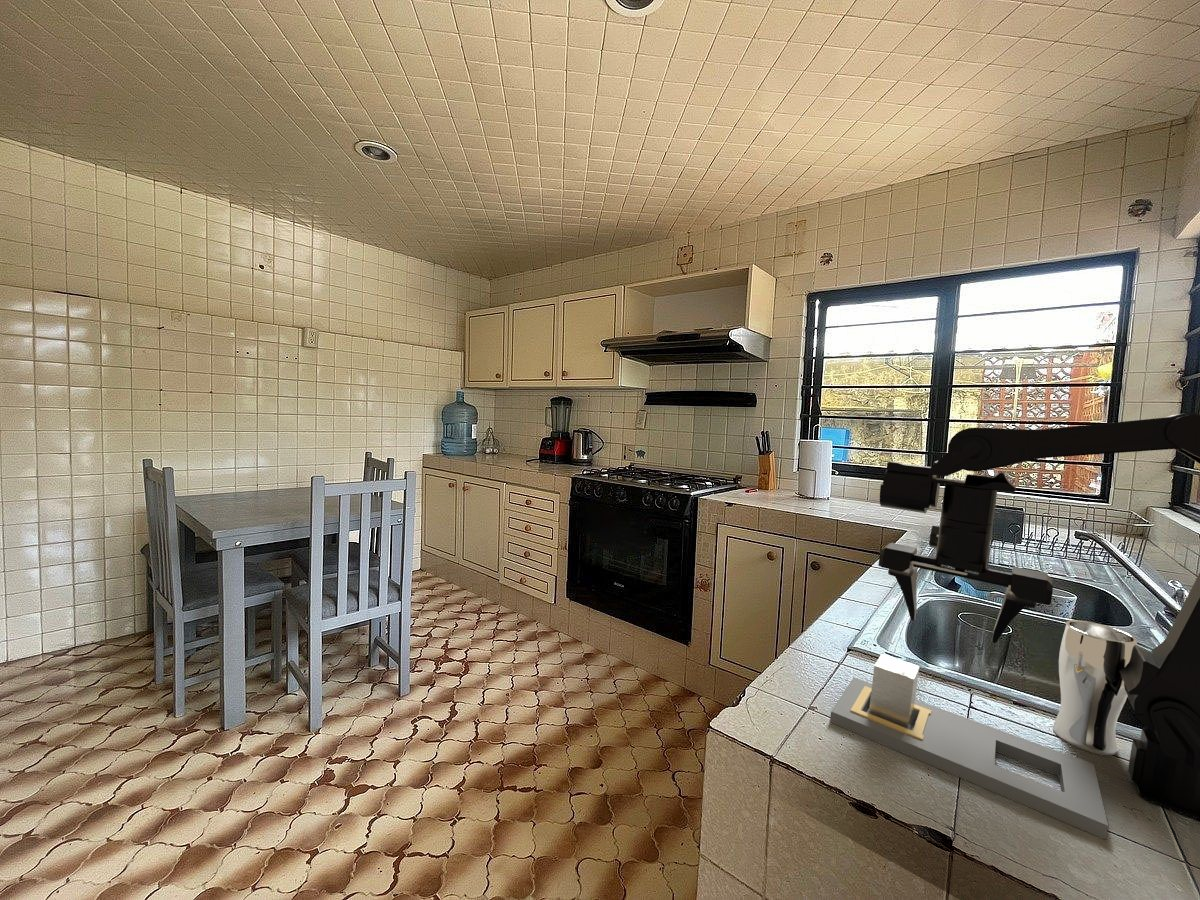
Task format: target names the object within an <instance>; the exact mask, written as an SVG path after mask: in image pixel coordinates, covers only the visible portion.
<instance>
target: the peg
mask: <svg viewBox="0 0 1200 900" xmlns="http://www.w3.org/2000/svg"><path fill="white" fill-rule="evenodd" d="M873 667H874V668H873V676H872V683H871V684H872V690H871V699H870V705H869V706H868V713H869V714H872V715H874V716H877V717H879V718H882V719H884V720H887V721H889V722H892V723H894V724H897V725H899V726H902V727H904V728H907V729H909V730H911V727H912V724H913V721H914V720H913V713H914V705H915V700H916V696H917V688H918V681H919V673H920V666H919V665H916V664H913V663H910V662H907V661H904V660H901V659H897V658H894V657H892V656H889V655H885V654H881V655H879V657H878V659H877V660H876V662H875V663H874V666H873Z"/></svg>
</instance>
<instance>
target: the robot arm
mask: <svg viewBox="0 0 1200 900" xmlns="http://www.w3.org/2000/svg"><path fill="white" fill-rule="evenodd" d="M1165 450H1167V451H1168V450H1174V451H1177V452H1179V453H1181V454H1182V455H1184V456H1186V457H1188V458H1189V459H1191V460H1192V461H1194V462H1196V463H1198V464H1199V465H1200V414H1199V413H1195V412H1193V413H1192V412H1190V413H1189V412H1184V413H1177V414H1176V413H1175V414H1172V415H1168V416H1164V417H1158V418H1147V419H1146V418H1145V419H1136V420H1126V421H1116V422H1115V421H1114V422H1107V423H1094V424H1085V425H1076V426H1075V425H1074V426H1063V427H1053V428H1043V429H1042V428H1041V429H1027V428H1026V429H1024V428H1022V429H1021V428H1001V427H999V428H998V427H968V428H965V429H962V430H959V431H958V432H956V433H955V434H954V435H953V436H952V437H951V439H950V440H949V441H948V445H947V453H945V455H943V456H942V457H941V458H940V459H939V460H935V461H933V464H932V466H924V465H915V464H907V463H903V462H900V461H891V460H890V461H888V462H887V463H886V464H887V465H886V470H885V473H884V475H883V480H882V483H881V484H880V488H879V505H880V507H882V508H890V509H895V510H903V511H909V512H912V513H913V512H915V513H922V514H926V513H927V512H928V510H929V509H930V507H931V508H935V509H936V508H937V507H938V506H937V505H938V503H939V502H938V501H939V497H940V489H941V485H944V490H943V491H944V492H943V497H942V498H943V499H942V506H941V514H940V520H939V521H940V522H939V525H931V529H930V535H929V540H928V541H929V542H928V545H929V547H930V548H931V549H936V551H935V552H936V553H935V557H933V556H929V555H928V556H927V555H923V554H918V548H917V547H915V546H912V545H905V544H902V543H901V544H899V543H894V542H890V543H888V544H886V545H885V546H884V547H883V548H882V549H881V550H880V551H879V552H880V553H879V556H878V566H879V567H880V568H882V569H888V571H887V574H888V575H889V576H893V577H894V578H895V579H896V581H897V584H898V586H899V587H900V591H902V596H903V597H904V601H905V604H906V607H907V611H908V615H909V617H910V620H911V621H912V622H914V621H915V620H916V616H917V609H918V608H917V606H918V604H917V603H918V600H917V580H918V579H917V577H918V569H923V570H927V571H931V572H935V573H942V574H945V575H948V576H949V575H950V576H954V577H958V578H959V577H960V578H963V579H968V580H972V581H977V582H982V583H987V584H991V585H996V586H1001V587H1004V588H1005V587H1006V589H1005V592H1004V596H1003V599H1002V603H1001V604H1000V605H1001V606H1000V608H999V612H998V615H997V618H996V620H995V621H996V622H995V624H994V628H993V631H992V632H993V634H992V639H991V642H992V644H997V642H998V641H999V640H1000V638H1001V637H1002V635H1003V633H1004V632H1005V631H1006V629H1007V627H1008V626H1009V625H1010V623H1011V622H1012V621H1013V620H1014V618H1016V617H1017V616H1018V614H1020V613H1021V612H1022V610H1023V609H1025V608H1030V609H1036V607H1037V603H1038V604H1042V605H1052V599H1053V598H1052V597H1053V591H1054V585H1053V580H1052V578H1051V577H1050V576H1049V575H1048V573H1047V572H1043V571H1038V570H1033V569H1027V568H1022V567H1019V566H1012V568H1011V572H1006V571H1001V570H997V569H992V568H988V566H989V562H990V554H991V541H992V535H993V525H994V518H995V512H996V505H997V504H996V503H997V494H998V492H1005V493H1011V494H1012V493H1015V492H1016V491H1017V488H1016V485H1015V484H1013V482H1012V481H1010V480H1009V479H1008V478H1007V476H1006V473H1004V472H1003V471H1001V472H999V473H997V474H996V475H995V476H987V475H978V474H970V473H967V474H966V476H965V480H962V479H951V478H950V479H949V478H943V477H949V476H950V475H953V474H956V473H958V472H960V471H967V472H975V473H976V472H984V471H988V470H992V469H997V468H1002V467H1008V466H1012V465H1017V464H1021V463H1026V462H1029V461H1035V460H1039V459H1047V458H1049V459H1051V458H1061V457H1065V458H1066V457H1076V456H1077V457H1078V456H1089V455H1090V456H1091V455H1094V456H1095V455H1106V454H1108V455H1109V454H1121V453H1138V452H1148V451H1149V452H1150V451H1151V452H1152V451H1165ZM937 476H939V477H941V478H939V477H937ZM1119 672H1120V674H1121V676H1122V679H1123V681H1124V687H1125V691H1126V693H1127V695H1128V697H1127V698H1128V700H1129V703H1130V704H1131V707H1132V710H1133V712H1134V714H1135V716H1136V717H1137V718H1138V720H1139V722H1140V723H1141V724H1143V725H1144V727H1142V728H1141V733H1140V739H1137V738H1134V739H1132V741H1131V742H1132V744H1131V749H1130V755H1129V762H1128V767H1127V771H1128V773H1129V777H1130V780H1131V782H1132V783H1134V784H1135V787H1136V790H1137V793H1138V796H1139V797H1140V798H1142V799H1144V800H1145V801H1149V802H1151V803H1153V804H1156V805H1159V806H1161V807H1164V808H1167V809H1169V810H1172V811H1174V812H1177V813H1180V814H1183V815H1185V816H1187V817H1191V818H1193V819H1196V820H1199V821H1200V572H1199V573H1198V575H1197V577H1196V580H1195V581H1194V582H1193V584H1192V587H1191V589H1190V591H1189V593H1188V594H1187V597H1186V599H1185V601H1184V602H1183V604H1182V606H1181V608H1180V610H1179V612H1178V614H1177V616H1176V618H1175V619H1174V622H1173V623H1172V626H1171V628H1170V630H1169V631H1168V633H1167V635H1166V637H1165V638H1164V640H1163V641H1162V642H1161V643H1160V644H1159V645H1157V646H1156V647H1154V648H1153V649H1151V650H1150V651H1149V650H1147V649H1145V648H1143V647H1141V646H1139V645H1138V644H1137V645H1134V646H1133V649H1132V653H1131V658H1130V661H1129V663H1128V664H1127V665H1126V667H1124V668H1123V669H1121V670H1120V671H1119Z"/></svg>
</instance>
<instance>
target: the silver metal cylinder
mask: <svg viewBox="0 0 1200 900" xmlns="http://www.w3.org/2000/svg"><path fill="white" fill-rule="evenodd" d="M1134 645H1137V646H1138V639H1137V638H1136V636H1134V635H1131V634H1130V633H1128V632H1126V631H1124V630H1121V629H1117V628H1115V627H1112V626H1109V625H1106V624H1102V623H1097V622H1094V621H1087V620H1081V619H1070V620H1067V621H1066V623H1065V627H1064V632H1063V635H1062V639H1061V643H1060V648H1059V654H1058V655H1059V656H1058V675H1059V688H1060V706H1059V710H1058V713H1057V716H1056V719H1055V720H1054V723H1053V725H1052V730H1053V731H1054V733H1055V734H1056V735H1057V736H1058V737H1059V739H1062V740H1063V741H1064V742H1066V743H1068V744H1070V745H1072V746H1074V747H1075V748H1078V749H1079V750H1083V751H1086V752H1088V753H1091V754H1095V755H1101V756H1114V755H1116V754H1117V751H1118V747H1117V746H1118V745H1117V739H1116V737H1117V736H1116V727H1117V722H1118V720H1119V719H1118V718H1119V716H1120V714H1121V711H1122V710H1123V707H1124V706H1125V703H1126V701H1127V698H1128V695H1127V693H1126V691H1125V687H1124V681H1123V679H1122V676H1121V674H1120V672H1119V671H1120V670H1121V669H1123V668H1124V667H1126V665H1127V664H1128V663H1129V661H1130V658H1131V653H1132V649H1133V646H1134Z"/></svg>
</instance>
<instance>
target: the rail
mask: <svg viewBox="0 0 1200 900" xmlns="http://www.w3.org/2000/svg"><path fill="white" fill-rule="evenodd" d="M871 690H872V683H871V682H868V681H865V680H863V679H861V678H857V677H855V676H854V677H852V679H851V680H850V681H849V683H848V685H847V687H845V689H844V691H843V693H842V694H841V696H840V697H839V699H838V700H837V702H836V703H835V704H834V706H833V708H832V709H831V711H830V717H829V718H830V719H829V723H831V724H833V725H837V726H838V727H841V728H843V729H845V730H848V731H851V732H852V733H855V734H857V735H860V736H862V737H865V738H866V739H869V740H871V741H873V742H876V743H879V744H880V745H884V746H885V747H887V748H890V749H892V750H895V751H897V752H899V753H902V754H904V755H907V756H909V757H910V758H913V759H916V760H918V761H920V762H922V763H925V764H928V765H930V766H931V767H935V768H937V769H940V770H942V771H943V772H946V773H949V774H952V775H954V776H955V777H957V778H960V779H962V780H965V781H967V782H970V783H972V784H974V785H977V786H979V787H982V788H984V789H986V790H988V791H991V792H993V793H995V794H998V795H1000V796H1003V797H1005V798H1007V799H1010V800H1012V801H1015V802H1017V803H1019V804H1021V805H1024V806H1026V807H1028V808H1031V809H1034V810H1036V811H1038V812H1041V814H1044V815H1047V816H1049V817H1052V818H1054V819H1056V820H1059V821H1061V822H1063V823H1066V824H1067V825H1070V826H1073V827H1076V828H1077V829H1080V830H1083V831H1085V832H1088V833H1089V834H1092V835H1094V836H1096V837H1099V838H1102V839H1103V840H1107V835H1108V829H1109V824H1108V820H1107V815H1106V811H1105V806H1104V803H1103V798H1102V794H1101V793H1102V792H1101V790H1100V785H1099V781H1098V778H1097V773H1096V769H1095V764H1094V763H1092V762H1089V761H1086V760H1085V759H1084V760H1083V759H1081V758H1079V757H1075V756H1072V755H1070V754H1067V753H1064V752H1061V751H1058V750H1056V749H1053V748H1050V747H1048V746H1045V745H1042V744H1039V743H1036V742H1034V741H1031V740H1028V739H1026V738H1022V737H1020V736H1019V735H1018V736H1017V735H1014V734H1011V733H1009V732H1006V731H1003V730H1001V729H997V728H996V727H993V726H989V725H987V724H984V723H982V722H978V721H976V720H973V719H971V718H967V717H965V716H962V715H961V714H960V715H959V714H957V713H954V712H952V711H951V712H950V711H949V710H945V709H942V708H939V707H937V706H935V705H932V704H929V703H926V702H924V701H920V700H917V699H915V705H914V713H913V721H915V723H914V727H913V729H910V730H909V729H907V728H904V727H902V726H899V725H897V724H894V723H892V722H889V721H887V720H884V719H882V718H879V717H877V716H874V715H872V714H869V712H867V710H868V709H869V707H870V699H871ZM996 753H998V754H1001V755H1003V756H1005V757H1008V758H1011V759H1013V760H1016V761H1019V762H1021V763H1025V764H1026V765H1029V766H1032V767H1034V768H1037V769H1040V770H1043V771H1044V772H1047V773H1049V774H1052V775H1054V776H1058V777H1059V778H1058V779H1059V786H1060V787H1059V788H1060V789H1057V788H1054V787H1051V786H1050V785H1046V784H1045V783H1042V782H1039V781H1036V780H1034V779H1032V778H1030V777H1026V776H1024V775H1021V774H1019V773H1017V772H1014V771H1012V770H1009V769H1008V768H1004V767H1002V766H999V765H996V764H995V761H996Z"/></svg>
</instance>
